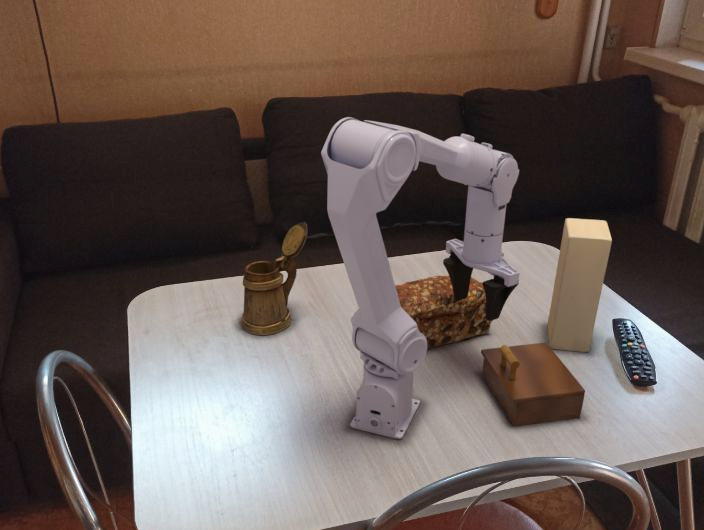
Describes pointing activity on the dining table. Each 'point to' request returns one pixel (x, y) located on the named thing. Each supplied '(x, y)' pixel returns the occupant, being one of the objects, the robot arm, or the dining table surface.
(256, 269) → the wooden mug
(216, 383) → the dining table surface
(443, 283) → the bread
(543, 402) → the trinket box
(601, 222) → the beige tall block
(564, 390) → the box lid
